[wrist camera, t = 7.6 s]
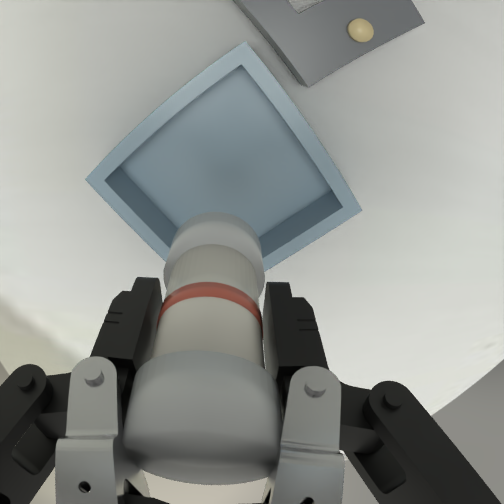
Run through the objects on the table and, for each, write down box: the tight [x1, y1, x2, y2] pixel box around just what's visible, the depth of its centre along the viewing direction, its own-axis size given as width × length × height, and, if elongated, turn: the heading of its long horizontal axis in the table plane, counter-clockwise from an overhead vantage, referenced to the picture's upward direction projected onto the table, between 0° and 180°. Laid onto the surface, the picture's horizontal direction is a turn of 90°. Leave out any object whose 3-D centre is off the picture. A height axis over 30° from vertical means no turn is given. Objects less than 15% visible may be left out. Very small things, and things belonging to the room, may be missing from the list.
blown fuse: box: [122, 212, 283, 485], centre depth 10 cm, size 4×4×9 cm
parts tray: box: [85, 41, 362, 272], centre depth 21 cm, size 13×13×4 cm
